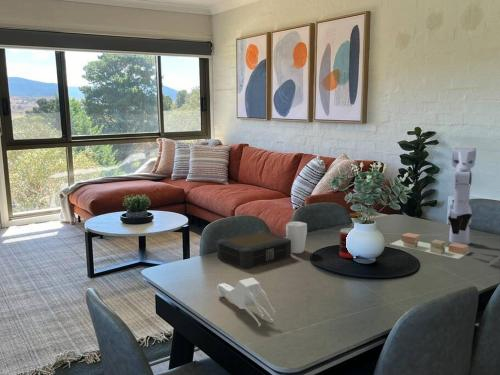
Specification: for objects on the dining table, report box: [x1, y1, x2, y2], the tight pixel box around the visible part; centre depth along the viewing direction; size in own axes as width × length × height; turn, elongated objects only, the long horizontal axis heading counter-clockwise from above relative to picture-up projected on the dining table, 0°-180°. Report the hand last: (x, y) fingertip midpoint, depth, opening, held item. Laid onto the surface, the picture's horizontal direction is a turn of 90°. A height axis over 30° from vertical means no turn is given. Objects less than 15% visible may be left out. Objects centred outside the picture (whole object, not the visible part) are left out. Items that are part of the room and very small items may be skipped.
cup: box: [285, 221, 308, 254], centre depth 203 cm, size 9×9×12 cm
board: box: [390, 239, 471, 260], centre depth 205 cm, size 13×30×1 cm, turn 45°
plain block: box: [430, 239, 446, 255], centre depth 199 cm, size 4×4×4 cm
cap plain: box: [448, 242, 469, 254], centre depth 200 cm, size 6×6×3 cm
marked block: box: [403, 242, 418, 249], centre depth 207 cm, size 4×4×4 cm
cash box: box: [216, 230, 292, 270], centre depth 195 cm, size 25×20×8 cm
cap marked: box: [400, 232, 421, 244], centre depth 207 cm, size 6×6×3 cm
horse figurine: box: [216, 277, 277, 328], centre depth 144 cm, size 5×16×25 cm
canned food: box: [339, 227, 354, 259], centre depth 196 cm, size 8×8×11 cm
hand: (459, 232), depth 198 cm, fingers open, 7 cm apart
